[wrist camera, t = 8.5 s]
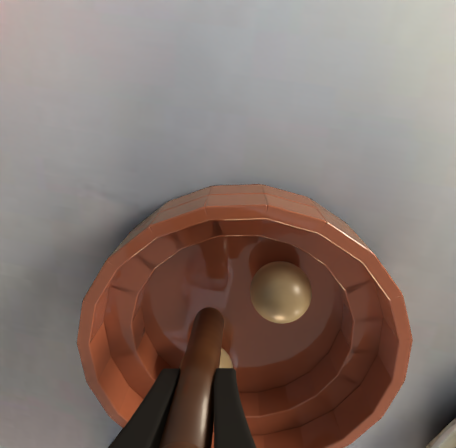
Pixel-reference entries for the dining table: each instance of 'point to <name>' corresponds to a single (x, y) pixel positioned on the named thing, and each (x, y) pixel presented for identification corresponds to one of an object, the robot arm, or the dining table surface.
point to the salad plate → (445, 437)
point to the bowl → (251, 315)
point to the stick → (196, 386)
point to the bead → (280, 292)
